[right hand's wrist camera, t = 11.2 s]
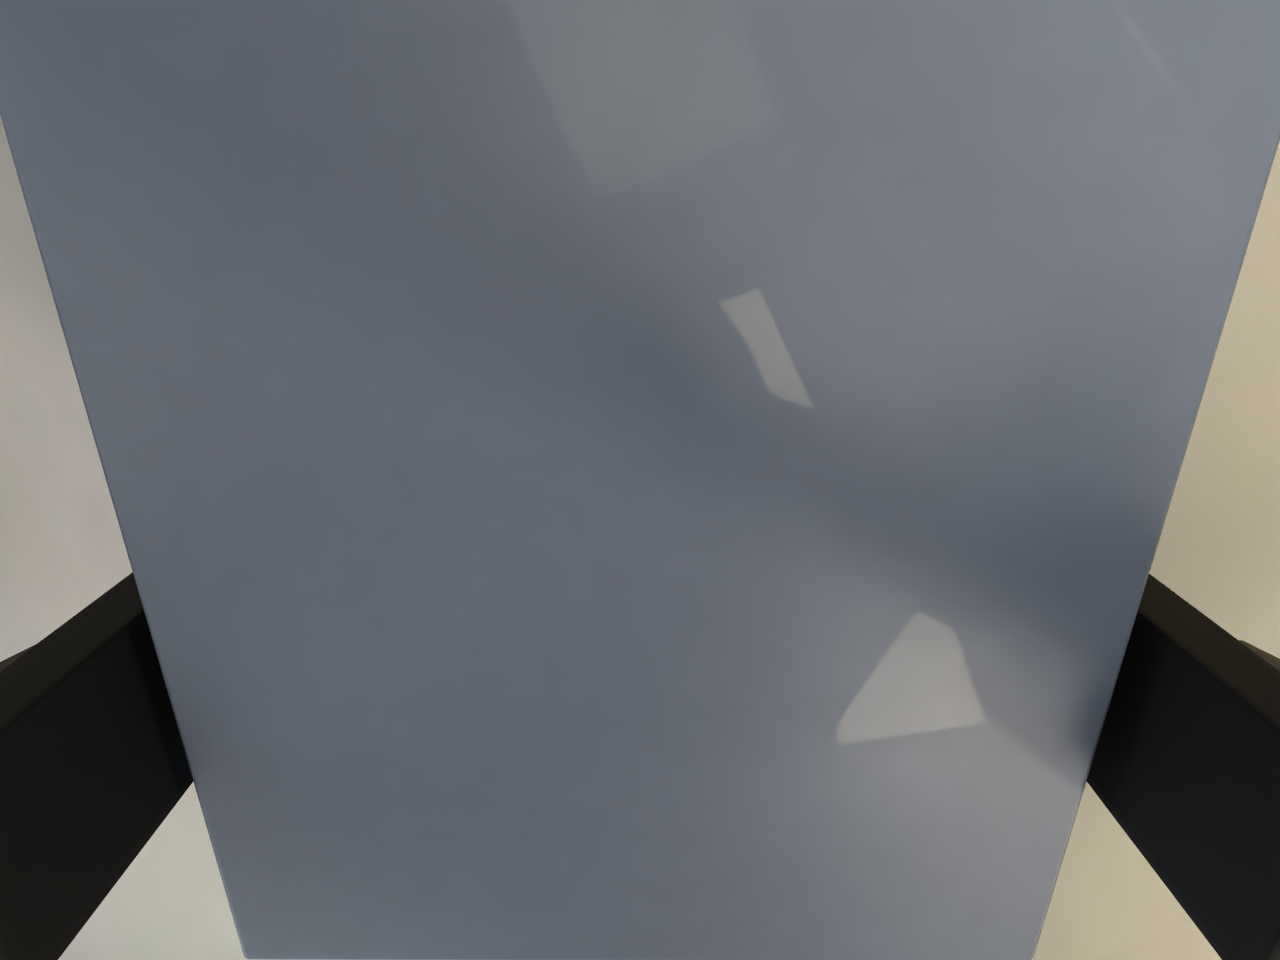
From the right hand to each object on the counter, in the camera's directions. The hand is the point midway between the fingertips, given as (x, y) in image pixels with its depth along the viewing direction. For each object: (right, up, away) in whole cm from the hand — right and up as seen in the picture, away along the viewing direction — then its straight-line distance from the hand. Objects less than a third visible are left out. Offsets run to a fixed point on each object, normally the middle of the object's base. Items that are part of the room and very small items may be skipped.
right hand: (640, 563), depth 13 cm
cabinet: (0, +6, +5) cm, 8 cm away
